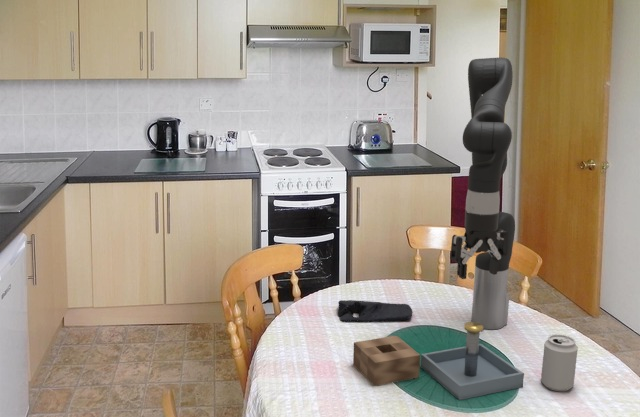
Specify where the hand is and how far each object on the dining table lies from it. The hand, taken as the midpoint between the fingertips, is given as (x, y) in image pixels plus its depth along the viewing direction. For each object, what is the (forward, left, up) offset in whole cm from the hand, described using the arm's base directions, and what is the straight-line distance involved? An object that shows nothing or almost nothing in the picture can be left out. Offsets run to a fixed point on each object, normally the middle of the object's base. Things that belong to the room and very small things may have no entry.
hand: (477, 275), depth 171 cm
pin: (0, 0, -25) cm, 25 cm away
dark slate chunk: (+4, -44, -27) cm, 52 cm away
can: (-17, +11, -26) cm, 33 cm away
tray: (0, 0, -26) cm, 26 cm away
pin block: (+18, -10, -26) cm, 33 cm away
